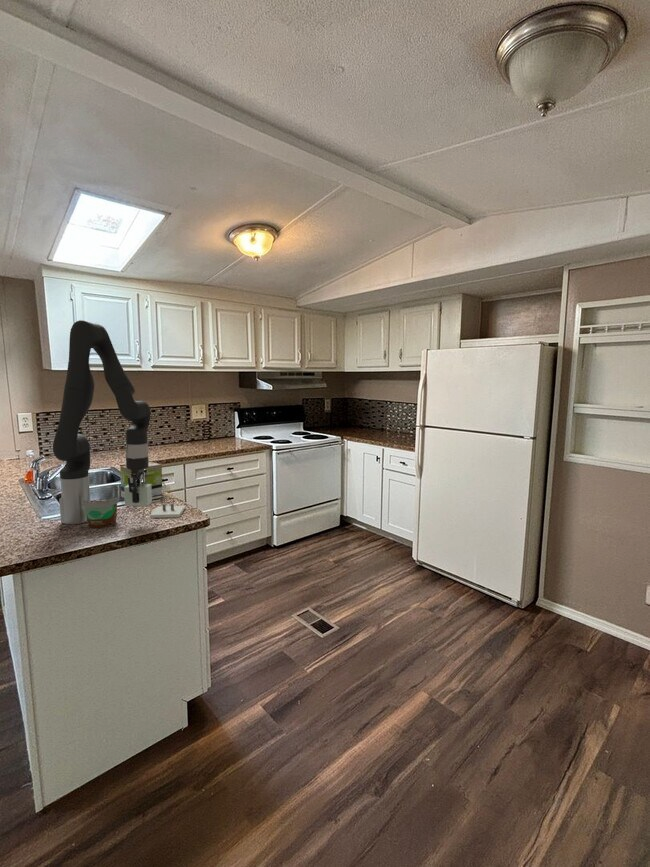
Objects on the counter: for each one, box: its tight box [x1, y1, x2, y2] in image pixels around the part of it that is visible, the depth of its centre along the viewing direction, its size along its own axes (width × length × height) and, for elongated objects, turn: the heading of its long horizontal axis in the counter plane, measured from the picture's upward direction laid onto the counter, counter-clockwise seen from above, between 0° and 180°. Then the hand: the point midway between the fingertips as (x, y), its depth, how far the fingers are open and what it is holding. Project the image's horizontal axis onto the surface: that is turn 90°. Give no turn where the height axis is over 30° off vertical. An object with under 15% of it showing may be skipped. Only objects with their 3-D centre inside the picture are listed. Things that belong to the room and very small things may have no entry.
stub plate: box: [149, 503, 186, 519], centre depth 167 cm, size 11×11×4 cm
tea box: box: [119, 461, 163, 499], centre depth 189 cm, size 15×10×15 cm, turn 143°
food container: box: [82, 496, 120, 529], centre depth 151 cm, size 12×6×10 cm, turn 105°
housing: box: [124, 484, 153, 507], centre depth 153 cm, size 8×5×7 cm, turn 97°
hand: (138, 499), depth 153 cm, fingers closed on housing, 5 cm apart
